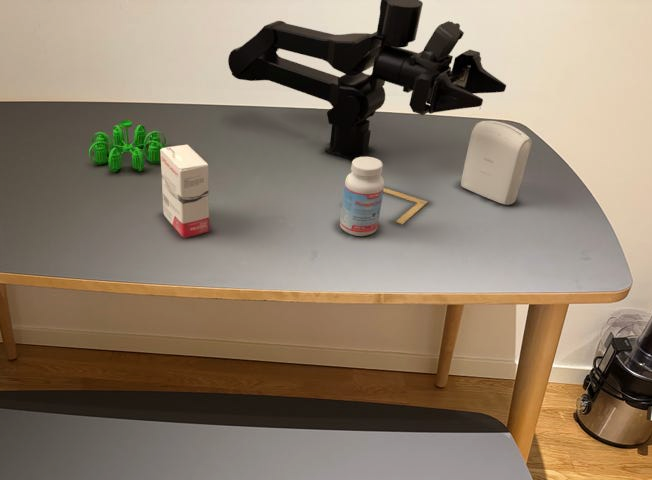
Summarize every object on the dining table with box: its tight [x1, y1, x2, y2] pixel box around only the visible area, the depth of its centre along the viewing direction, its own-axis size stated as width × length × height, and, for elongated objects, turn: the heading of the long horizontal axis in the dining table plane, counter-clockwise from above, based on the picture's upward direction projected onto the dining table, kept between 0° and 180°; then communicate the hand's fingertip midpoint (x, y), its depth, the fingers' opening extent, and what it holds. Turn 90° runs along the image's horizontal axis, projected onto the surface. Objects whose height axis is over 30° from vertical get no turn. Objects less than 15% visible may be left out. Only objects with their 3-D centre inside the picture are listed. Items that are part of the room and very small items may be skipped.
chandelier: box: [88, 119, 167, 173], centre depth 137 cm, size 15×15×7 cm
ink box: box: [160, 143, 210, 239], centre depth 117 cm, size 8×5×12 cm, turn 26°
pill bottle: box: [339, 156, 385, 237], centre depth 116 cm, size 6×6×11 cm
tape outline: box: [383, 187, 429, 226], centre depth 125 cm, size 10×9×1 cm
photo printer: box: [460, 120, 532, 206], centre depth 125 cm, size 10×4×12 cm, turn 39°
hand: (493, 95), depth 118 cm, fingers open, 9 cm apart
